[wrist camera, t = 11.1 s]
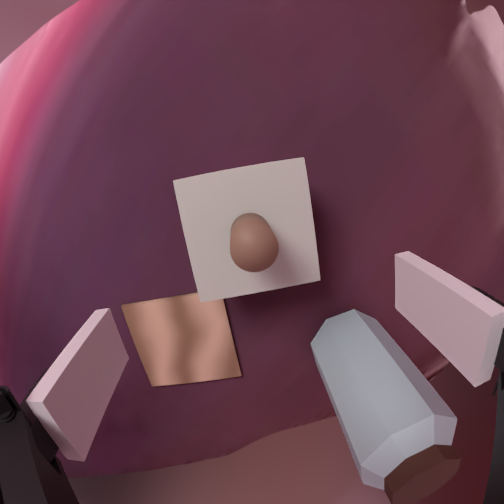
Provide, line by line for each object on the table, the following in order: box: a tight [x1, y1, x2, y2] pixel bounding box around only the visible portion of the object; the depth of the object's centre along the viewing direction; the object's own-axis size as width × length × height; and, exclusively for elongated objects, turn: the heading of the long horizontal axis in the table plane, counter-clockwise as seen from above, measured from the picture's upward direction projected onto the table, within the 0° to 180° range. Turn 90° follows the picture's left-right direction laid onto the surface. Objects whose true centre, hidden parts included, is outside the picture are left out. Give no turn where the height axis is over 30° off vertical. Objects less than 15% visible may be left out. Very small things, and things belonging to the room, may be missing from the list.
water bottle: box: [311, 309, 461, 504], centre depth 28 cm, size 10×10×25 cm
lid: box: [173, 157, 320, 302], centre depth 27 cm, size 12×12×7 cm
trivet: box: [121, 293, 242, 386], centre depth 39 cm, size 13×13×1 cm
